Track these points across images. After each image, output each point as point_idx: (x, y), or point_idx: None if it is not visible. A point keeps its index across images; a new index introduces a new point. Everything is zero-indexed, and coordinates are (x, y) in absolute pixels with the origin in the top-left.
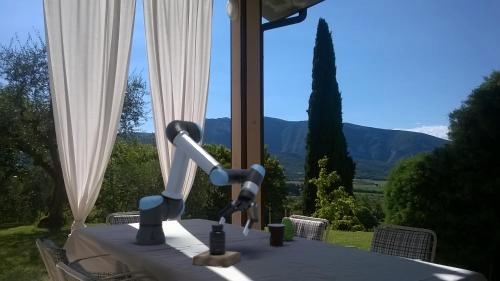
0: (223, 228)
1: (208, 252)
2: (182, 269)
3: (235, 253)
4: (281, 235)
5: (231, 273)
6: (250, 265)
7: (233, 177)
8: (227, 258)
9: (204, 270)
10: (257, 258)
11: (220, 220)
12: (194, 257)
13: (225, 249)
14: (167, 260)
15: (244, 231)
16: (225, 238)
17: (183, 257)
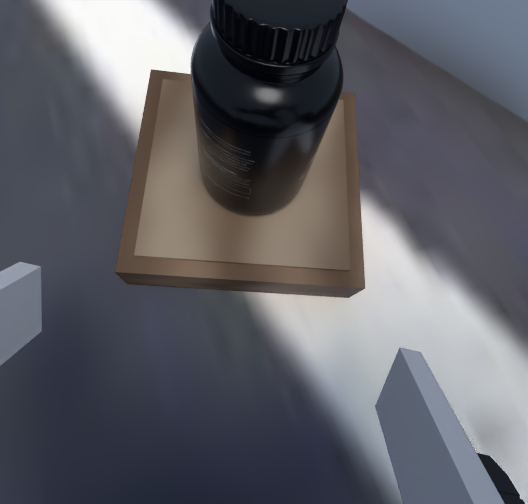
0: (211, 27)
1: (320, 191)
2: None
3: (141, 209)
4: None
5: (112, 18)
6: (43, 164)
7: None
8: (159, 94)
9: None
10: (17, 362)
11: (478, 468)
12: (344, 94)
13: (198, 155)
14: (494, 165)
15: (10, 270)
16: (193, 100)
17: (470, 248)
